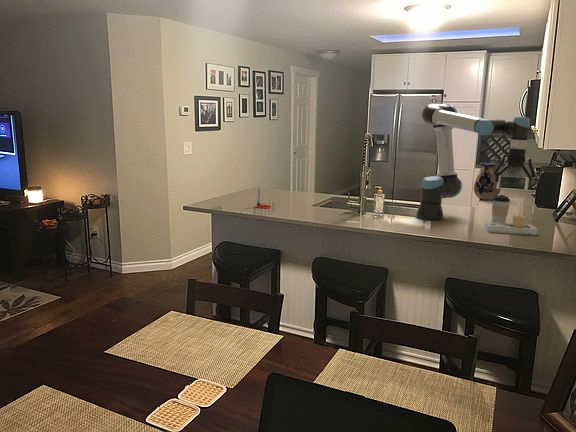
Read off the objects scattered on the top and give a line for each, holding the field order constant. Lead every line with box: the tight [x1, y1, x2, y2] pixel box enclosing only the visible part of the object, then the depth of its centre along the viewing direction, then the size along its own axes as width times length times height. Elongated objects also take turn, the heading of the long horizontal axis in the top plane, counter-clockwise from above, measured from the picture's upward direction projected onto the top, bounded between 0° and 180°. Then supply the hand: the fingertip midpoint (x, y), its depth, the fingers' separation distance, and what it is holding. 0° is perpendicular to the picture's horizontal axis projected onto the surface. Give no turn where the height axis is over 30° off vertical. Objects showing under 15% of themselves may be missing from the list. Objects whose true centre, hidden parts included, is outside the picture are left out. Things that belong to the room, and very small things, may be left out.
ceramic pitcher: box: [473, 162, 501, 201], centre depth 340 cm, size 18×21×25 cm
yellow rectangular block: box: [511, 215, 526, 228], centre depth 247 cm, size 4×4×8 cm
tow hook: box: [254, 186, 272, 210], centre depth 297 cm, size 8×13×9 cm
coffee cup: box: [491, 194, 511, 223], centre depth 267 cm, size 9×9×15 cm
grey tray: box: [484, 221, 538, 236], centre depth 249 cm, size 23×10×3 cm, turn 78°
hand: (511, 189), depth 248 cm, fingers open, 13 cm apart
